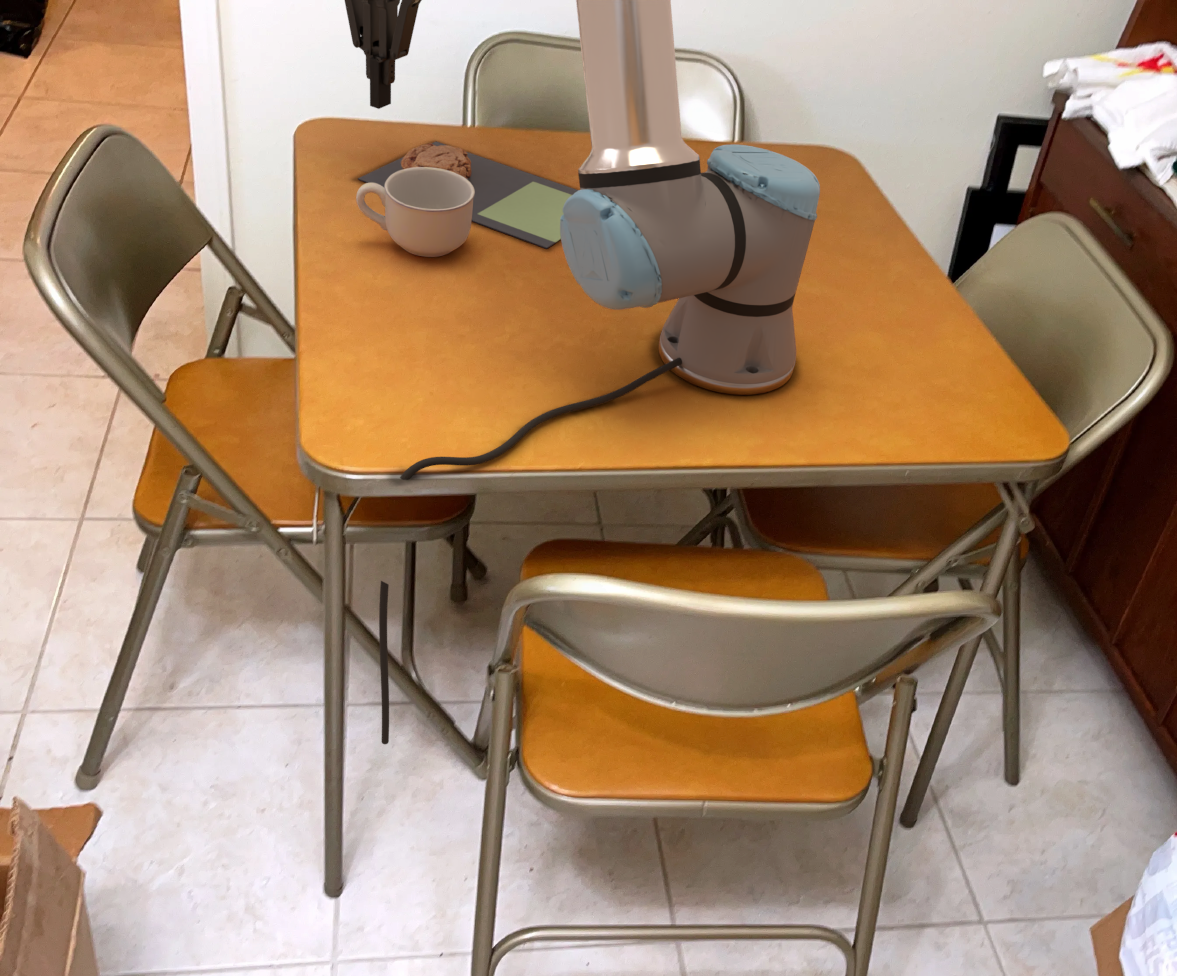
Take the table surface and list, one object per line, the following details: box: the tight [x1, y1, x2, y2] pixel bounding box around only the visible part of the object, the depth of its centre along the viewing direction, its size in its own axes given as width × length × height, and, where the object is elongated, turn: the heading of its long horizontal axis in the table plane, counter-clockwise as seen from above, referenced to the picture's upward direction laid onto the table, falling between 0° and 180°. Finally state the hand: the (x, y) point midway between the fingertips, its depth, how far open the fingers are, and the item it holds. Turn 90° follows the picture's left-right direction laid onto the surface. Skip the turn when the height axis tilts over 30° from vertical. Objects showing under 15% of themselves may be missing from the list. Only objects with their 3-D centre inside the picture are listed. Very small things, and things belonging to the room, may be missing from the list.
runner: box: [357, 140, 579, 250], centre depth 153 cm, size 18×30×1 cm, turn 61°
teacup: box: [355, 167, 475, 258], centre depth 136 cm, size 14×11×8 cm
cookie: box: [401, 142, 471, 179], centre depth 155 cm, size 10×11×3 cm
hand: (380, 104), depth 155 cm, fingers closed
